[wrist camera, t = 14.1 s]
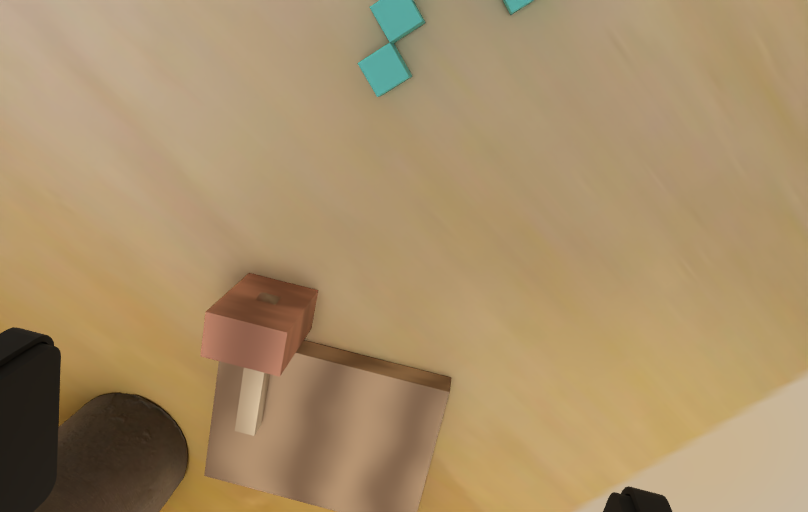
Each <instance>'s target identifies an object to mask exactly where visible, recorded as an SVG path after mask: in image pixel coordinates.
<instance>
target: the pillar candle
mask: <svg viewBox="0 0 808 512" xmlns="http://www.w3.org/2000/svg"><path fill="white" fill-rule="evenodd" d="M186 467H187V446H186V442H185V438H184V436H183V435H182V432H181V430H180V429H179V427H178V426H177V425H176V422H175V421H174V420H172V418H171V417H170V416H169V415H168V414H167V413H166V412H164V411H163V410H162V409H161V408H160V407H157V406H156V405H155V404H152V403H151V402H150V401H148V400H146V399H144V398H142V397H140V396H136V395H130V394H121V393H111V394H105V395H101V396H99V397H96V398H94V399H93V400H91V401H90V402H88V403H87V404H85V405H84V406H83V407H82V408H81V409H80V410H78V411H77V412H76V413H75V414H74V415H73V416H71V417H70V418H69V419H68V420H67V421H65V422H64V423H63V424H62V425H61V426H60V427H58V454H57V477H56V482H55V485H54V487H53V489H52V491H51V493H50V495H49V496H48V497H47V499H46V500H45V501H44V502H43V503H42V504H41V505H40V506H39V507H38V508H37V509H36V510H35V511H34V512H159V511H160V510H161V508H162V507H163V506H164V504H165V503H166V502H167V501H168V499H169V498H170V496H171V495H172V493H173V492H174V490H175V489H176V488H177V487H178V485H179V483H180V482H181V481H182V479H183V478H184V476H185V471H186Z"/></svg>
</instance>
